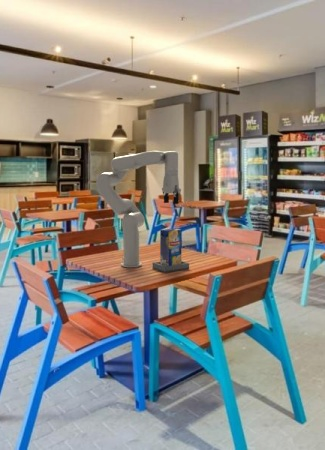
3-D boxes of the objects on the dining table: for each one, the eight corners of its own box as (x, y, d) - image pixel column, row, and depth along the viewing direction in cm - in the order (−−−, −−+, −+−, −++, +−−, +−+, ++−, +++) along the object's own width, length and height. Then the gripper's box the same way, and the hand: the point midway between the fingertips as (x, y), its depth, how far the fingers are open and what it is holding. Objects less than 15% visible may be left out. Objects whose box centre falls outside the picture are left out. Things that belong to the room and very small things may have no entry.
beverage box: (181, 266, 248) (181, 229, 245) (168, 269, 240) (169, 231, 237) (172, 264, 252) (172, 228, 249) (160, 267, 244) (160, 230, 241)
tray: (152, 268, 247) (152, 262, 246) (176, 264, 256) (176, 259, 256) (164, 272, 236) (164, 266, 236) (189, 269, 245) (189, 263, 245)
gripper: (157, 173, 244) (157, 202, 246) (174, 173, 230) (174, 204, 232) (168, 173, 248) (168, 202, 251) (185, 173, 234) (185, 204, 236)
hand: (171, 203), depth 241 cm, fingers open, 9 cm apart
